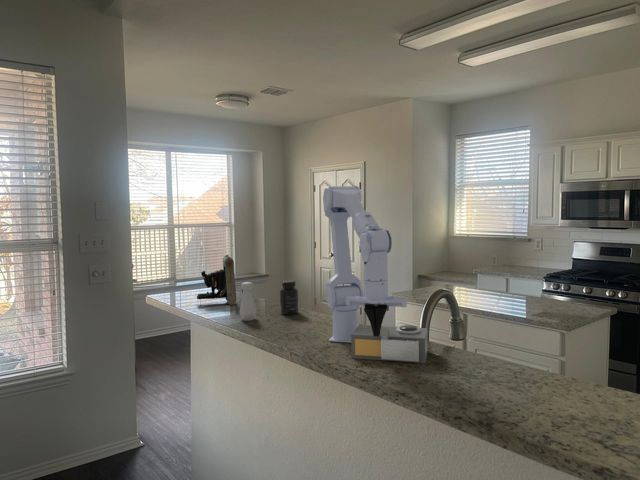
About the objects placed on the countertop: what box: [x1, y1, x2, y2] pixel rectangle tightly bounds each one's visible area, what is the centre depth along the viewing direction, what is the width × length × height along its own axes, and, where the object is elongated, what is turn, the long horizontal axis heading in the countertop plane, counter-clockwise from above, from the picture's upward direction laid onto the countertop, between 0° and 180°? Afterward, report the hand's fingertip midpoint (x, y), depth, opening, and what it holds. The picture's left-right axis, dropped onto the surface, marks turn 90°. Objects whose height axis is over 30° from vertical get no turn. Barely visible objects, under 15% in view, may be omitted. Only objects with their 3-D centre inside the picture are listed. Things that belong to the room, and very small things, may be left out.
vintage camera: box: [196, 254, 237, 306], centre depth 190 cm, size 10×16×20 cm, turn 107°
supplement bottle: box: [279, 279, 300, 316], centre depth 170 cm, size 7×7×12 cm
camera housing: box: [350, 324, 429, 364], centre depth 118 cm, size 10×18×7 cm, turn 74°
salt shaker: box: [239, 281, 257, 322], centre depth 161 cm, size 6×6×13 cm
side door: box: [381, 326, 419, 363], centre depth 111 cm, size 1×9×8 cm, turn 74°
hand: (376, 335), depth 113 cm, fingers closed
